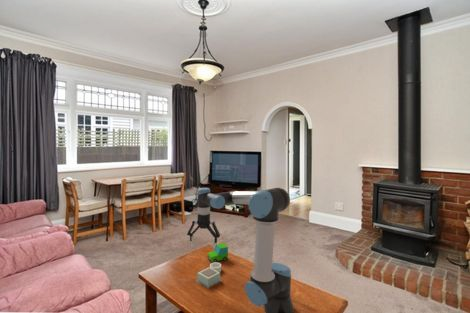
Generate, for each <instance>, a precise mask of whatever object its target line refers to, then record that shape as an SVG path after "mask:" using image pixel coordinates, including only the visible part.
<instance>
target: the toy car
mask: <svg viewBox="0 0 470 313" xmlns="http://www.w3.org/2000/svg"><path fill="white" fill-rule="evenodd" d="M206 257H207V258H208V260H209V261H210V263H213V262H218V261H224V262H225V261H227V260H228V259H229V247H228V246H227V245H226V243H224V242H222V243H215V249H213V250H212V251H210V252H207V256H206Z"/></svg>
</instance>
